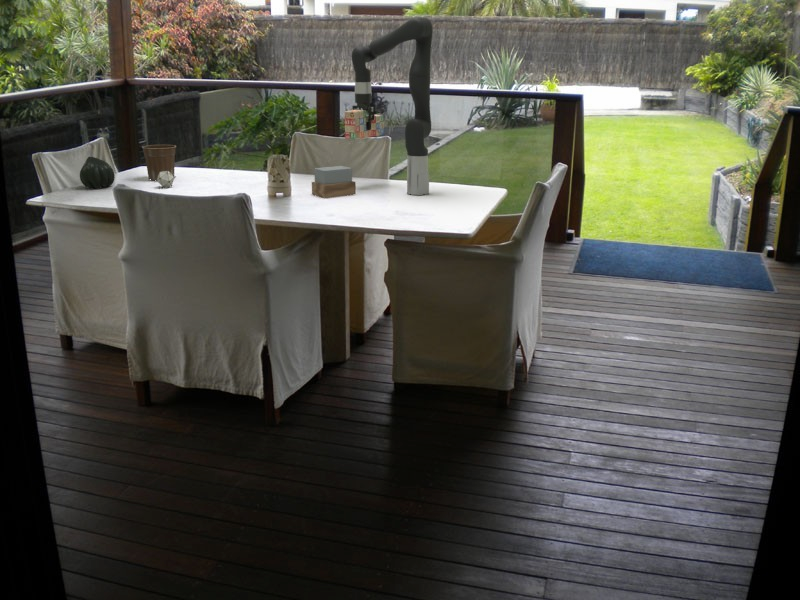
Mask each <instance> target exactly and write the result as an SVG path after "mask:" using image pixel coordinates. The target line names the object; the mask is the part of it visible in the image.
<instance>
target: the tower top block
mask: <svg viewBox="0 0 800 600" xmlns="http://www.w3.org/2000/svg"><path fill="white" fill-rule="evenodd" d="M313 174H314V182H317V183H320V184H324V185H327V184H336V183H346V182H352V181H353V168H352V167H349V166H344V165H335V166H326V167H314V173H313Z"/></svg>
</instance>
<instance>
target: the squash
mask: <svg viewBox="0 0 800 600" xmlns="http://www.w3.org/2000/svg"><path fill="white" fill-rule="evenodd" d="M115 175H116V174H115V172H114V169H113V168H112V166H111V165H110V164H109V163H108V162H106V161H105V160H103V159H100V158H97V157H94V156H88V157H87V158H86V159H85V161H84V164H83V165H82V167H81V169H80V171H79V180H80V182H81V183H82V184H83V186H85V187H86V188H88V187H89V189H91V188H94V189H97V190H98V188H99V189H101V188H103V187H104V188H107V187H109V188H110V186H112V185H113V184H114V182H115Z"/></svg>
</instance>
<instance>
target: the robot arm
mask: <svg viewBox="0 0 800 600" xmlns="http://www.w3.org/2000/svg"><path fill="white" fill-rule="evenodd" d="M433 33H434V32H433V24H432V21H431V19H429V18H428V17H424V16H423V17H421V16H418V17H417V16H416V17H415V16H414V17H412V18H410V19H408V20H407V21H406V22H404V23H402V25H400V26H399V27H397V28H396V29H394V30H392V31H391V32H389V33H387V34H384V35H382V36H380V37H378V38H376V39H373V40H372V41H371V42H370V43H369V44H368V45H366V46H363V45H362V46H355V47H354V48H353V50H351V51H352V52H351V61H352V65H353V66H352V67H353V70H354V103H355V105H352V106H351V107H352V108H351V109H352V110H366V112H367V110H368V113H369V115H365V117H366V121H367V122H366V130H371V121H373V120H374V115H375V107H374V106H370V104H372V102H373V101H372V81H371V80H372V78H371V75H372V74H371V70H370V69H369V68H367V66H366V64H367V63H370V62H372V61H374V60H376V59H377V58H378V57H380V56H383V55H385V54H386V53H389V52H390V51H392V50H394V49H395V48H396V47H397V46H398V45H401V44H403V43H405V42H409V41H413V40H415V53H414V56H413V59H412V62H411V64H410V67H409V72H408V87H409V92H410V95H411V98H412V101H413V105H414V118H412V119H409V120H408V121H407V122H406V124H405V128H404V129H405V130H404V141H405V142H404V144H405V149H406V152H407V153H406V154H407V160H406V162H407V163H406V170H407V171H406V194H407V193H408V194H407V195H410V194H411V195H413V196H423V194H425V195H429V194H430V172H429V150H428V148H427V147H426V146H425V139H426V138H428V137H429V136H430V135H431V132H432V119H431V107H430V106H431V102H430V101H431V52H432V40H433ZM371 115H372V118H371ZM368 118H369V119H368ZM428 193H429V194H428Z"/></svg>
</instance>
